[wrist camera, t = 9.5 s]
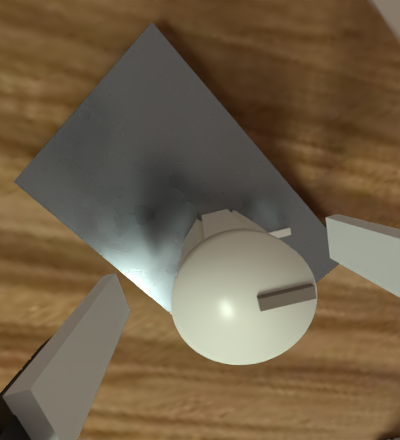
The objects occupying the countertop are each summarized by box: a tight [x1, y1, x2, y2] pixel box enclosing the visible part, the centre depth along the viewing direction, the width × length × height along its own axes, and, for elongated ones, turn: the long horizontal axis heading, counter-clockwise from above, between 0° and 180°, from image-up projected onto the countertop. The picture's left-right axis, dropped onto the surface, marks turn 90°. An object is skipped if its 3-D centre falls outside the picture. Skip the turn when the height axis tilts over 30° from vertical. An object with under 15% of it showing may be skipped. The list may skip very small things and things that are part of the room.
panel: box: [14, 23, 339, 314], centre depth 14 cm, size 22×14×6 cm, turn 44°
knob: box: [171, 209, 317, 365], centre depth 12 cm, size 6×6×7 cm
